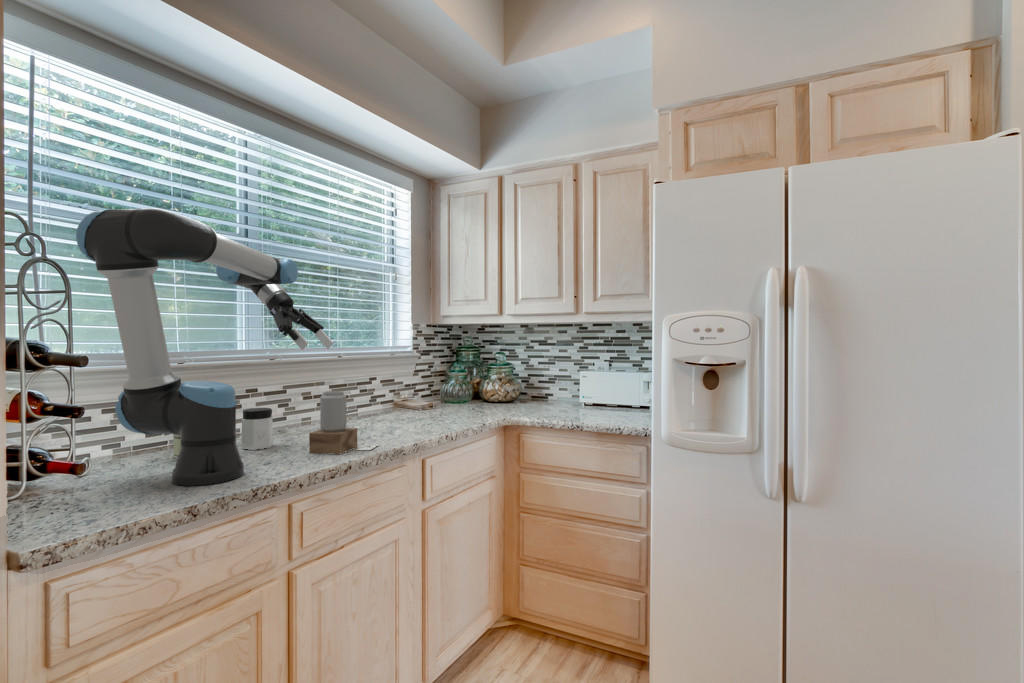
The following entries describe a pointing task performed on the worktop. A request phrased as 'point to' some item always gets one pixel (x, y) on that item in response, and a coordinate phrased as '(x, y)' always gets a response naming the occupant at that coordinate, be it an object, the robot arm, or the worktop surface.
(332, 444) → the walnut block
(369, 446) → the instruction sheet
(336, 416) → the can
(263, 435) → the jar
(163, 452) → the worktop surface
